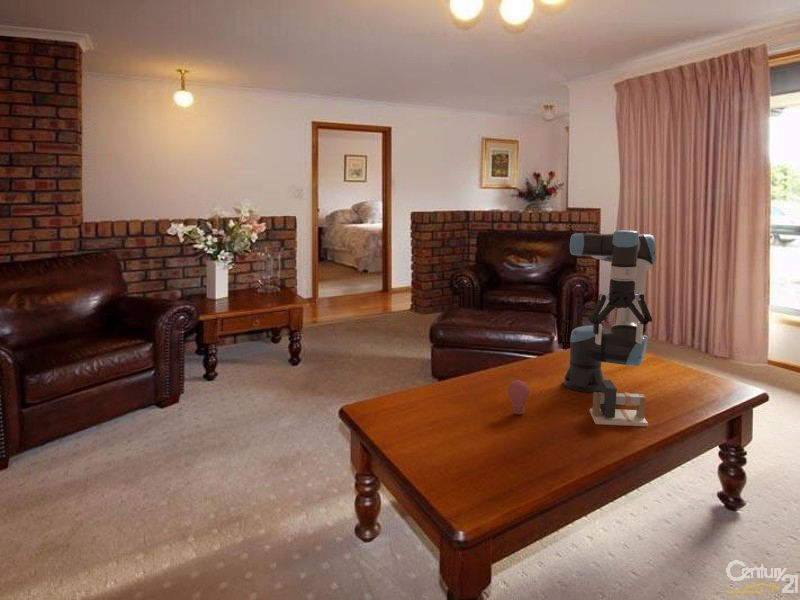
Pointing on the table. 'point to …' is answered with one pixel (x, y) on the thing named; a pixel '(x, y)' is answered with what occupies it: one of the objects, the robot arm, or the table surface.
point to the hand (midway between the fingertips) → (618, 343)
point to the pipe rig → (620, 410)
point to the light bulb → (518, 395)
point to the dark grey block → (608, 398)
